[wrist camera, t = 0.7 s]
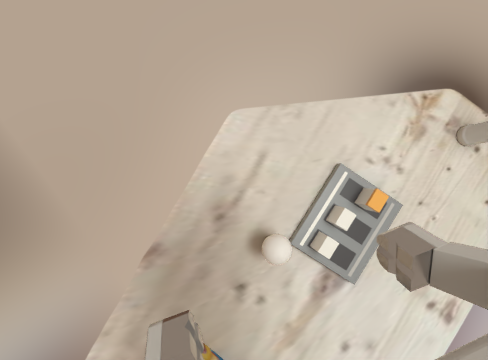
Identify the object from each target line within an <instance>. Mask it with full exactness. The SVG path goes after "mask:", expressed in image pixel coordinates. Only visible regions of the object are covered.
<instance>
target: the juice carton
mask: <svg viewBox="0 0 488 360" xmlns="http://www.w3.org/2000/svg"><path fill="white" fill-rule="evenodd" d="M203 345H204V351H203V353H202V356H203V358H204V360H223V359H222V358H221V357H220V356H218V355H217V354H216V353H215V352H214V351H212V350H211V349H210V348H209V347H208V346H206V345H205V344H204V343H203Z"/></svg>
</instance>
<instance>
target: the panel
mask: <svg viewBox="0 0 488 360" xmlns="http://www.w3.org/2000/svg"><path fill="white" fill-rule="evenodd" d="M363 188H371V189H375V188H377V187H375V186H374V185H372V184H371V183H370V182H368V181H367V180H365V179H364V178H362V177H361V176H359V175H358V174H356V173H355V172H353V171H352V170H350V169H349V168H347V167H346V166H344V165H343V164H341V163H340V164H337V165H336V167H335V168H334V170H333V171H332V173H331V175H330V176H329V178H328V179H327V181H326V183H325V184H324V186H323V187H322V189H321V191H320V192H319V194H318V195H317V197H316V199H315V200H314V202H313V203H312V205H311V207H310V208H309V210H308V211H307V213H306V215H305V216H304V218H303V219H302V221H301V223H300V224H299V226H298V227H297V229H296V231H295V232H294V234H293V235H292V237H291V239H290V240H289V241H290V243H291V245H293V246H295V247H296V248H298V249H299V250H301V251H302V252H304V253H306V254H307V255H309V256H310V257H312V258H313V259H315V260H317V261H318V262H320V263H321V264H323V265H324V266H326V267H328V268H329V269H331V270H332V271H334V272H335V273H337V274H339V275H340V276H342V277H343V278H345V279H346V280H348V281H350V282H351V283H353V284H354V285H355V283H356V281H357V280H358V278H359V276H360V275H361V273H362V271H363V270H364V268H365V267H366V265H367V263H368V262H369V260H370V258H371V257H372V255H373V253H374V252H375V250H376V248H377V247H378V245H379V244H378V243H377V242H376V237H377V236H378V234H381V233H383V232H386V231H387V230H388V229H389V227H390V225H391V224H392V222H393V220H394V219H395V217H396V215H397V214H398V212H399V211H400V209H401V207H402V206H403V205H402V204H401V203H399V202H398V201H396V200H395V199H393V198H392V197H390V196H389V195H388V196H389V198H388V199H387V201H386V203H385V204H384V206H383V208H382V209H381V211H380V212H379V213H378V212H374V211H370V210H365V209H363V208H362V207H360V206H359V205H357V204H356V203H355V201H356V199H357V198H358V196H359V194H360V193H361V191H362V190H363ZM377 189H378V188H377ZM379 190H380V189H379ZM380 191H381V190H380ZM382 192H383V191H382ZM383 193H384V192H383ZM385 194H386V193H385ZM386 195H387V194H386Z"/></svg>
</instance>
